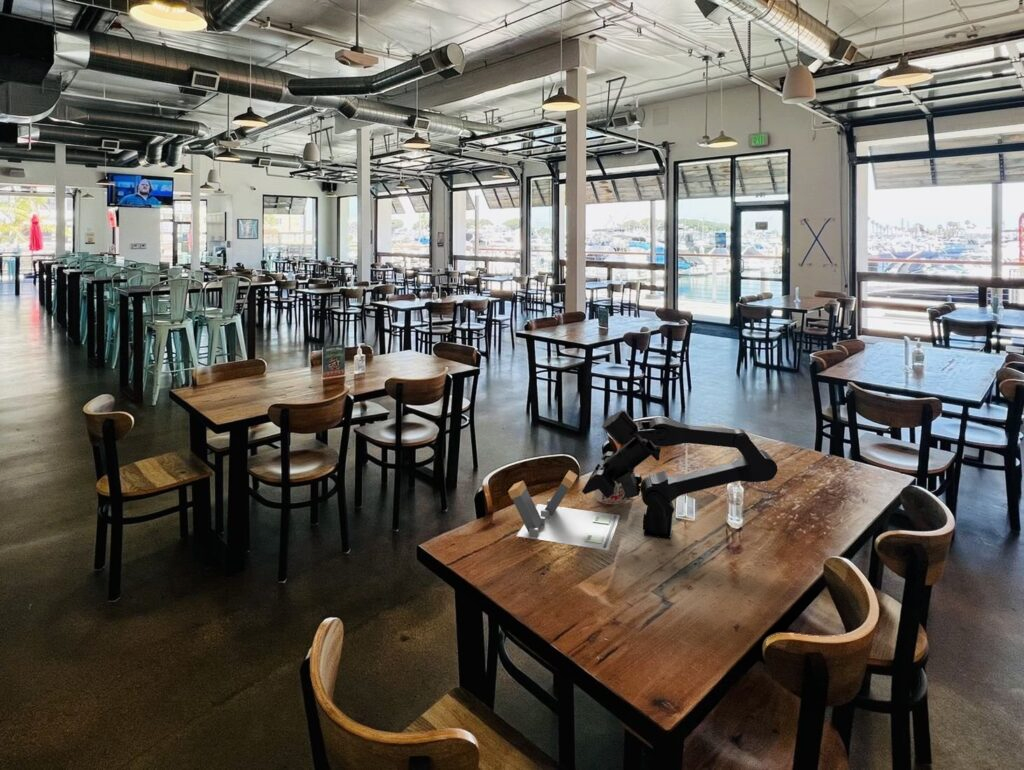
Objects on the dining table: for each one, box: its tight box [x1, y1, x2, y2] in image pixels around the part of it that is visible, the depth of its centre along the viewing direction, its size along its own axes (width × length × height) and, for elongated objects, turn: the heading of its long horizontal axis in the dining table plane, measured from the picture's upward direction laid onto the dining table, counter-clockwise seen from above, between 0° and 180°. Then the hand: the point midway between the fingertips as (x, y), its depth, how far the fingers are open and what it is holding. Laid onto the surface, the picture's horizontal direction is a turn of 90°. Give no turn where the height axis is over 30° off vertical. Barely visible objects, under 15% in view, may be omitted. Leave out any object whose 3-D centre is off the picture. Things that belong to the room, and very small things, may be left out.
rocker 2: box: [545, 469, 579, 516], centre depth 165 cm, size 3×5×11 cm
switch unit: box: [516, 498, 621, 551], centre depth 160 cm, size 22×20×4 cm
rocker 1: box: [507, 480, 542, 533], centre depth 156 cm, size 3×5×11 cm, turn 163°
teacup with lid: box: [593, 479, 627, 505], centre depth 176 cm, size 12×9×12 cm
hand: (583, 492), depth 163 cm, fingers closed
